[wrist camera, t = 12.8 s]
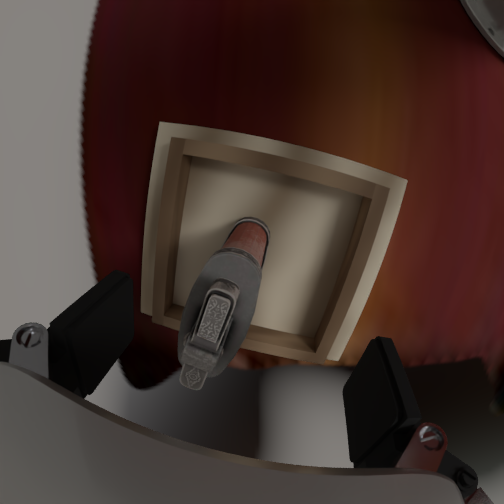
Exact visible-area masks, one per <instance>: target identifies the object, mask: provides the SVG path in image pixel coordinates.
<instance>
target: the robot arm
mask: <svg viewBox="0 0 504 504" xmlns="http://www.w3.org/2000/svg"><path fill="white" fill-rule="evenodd" d="M460 1H461V3H462V5H463V7H464V8H465V10H466V12H467V14H468V15H469V17H470V18H471V20H472V21H473V23H474V24H475V26H476V27H477V28H478V30H479V31H480V32H481V34H482V35H483V36H484V37H485V39H486V40H487V41H488V42H489V43H490V45H491V46H492V47H493V48H494V49H495V50H496V51H497V52H498V53H499V54H500V55H501V56H502V57H503V58H504V0H460ZM133 336H134V313H133V280H132V279H131V278H130V276H129V274H128V273H124V272H121V271H118V270H114V271H113V272H111V273H110V274H109V275H108V276H106V277H105V278H104V279H102V280H101V281H100V282H99V283H97V284H96V285H95V286H94V287H92V288H91V289H90V290H89V291H88V292H86V293H85V294H84V295H83V296H81V297H80V298H79V299H78V300H76V301H75V302H74V303H73V304H72V305H70V306H69V307H68V308H67V309H66V310H65V311H63V312H62V313H61V314H60V315H59V316H57V318H55V319H54V320H53V321H52V322H51V323H50V327H49V328H48V329H46V328H45V327H44V326H43V325H41V324H38V323H26V324H24V325H21V326H20V327H18V328H17V329H16V330H15V332H14V334H13V336H12V339H8V340H0V504H494V503H493V502H492V501H491V500H490V498H489V497H488V496H487V495H486V493H485V492H484V491H483V490H482V488H481V487H479V488H478V489H477V485H478V477H477V474H476V473H475V471H474V470H473V469H472V468H471V467H470V466H468V465H467V464H465V463H464V462H462V461H461V460H459V459H458V458H457V457H455V456H454V455H452V454H451V453H450V452H448V451H447V450H446V447H447V437H446V435H445V433H444V431H443V430H442V429H441V428H440V427H439V426H437V425H435V424H433V423H423V424H421V423H420V419H421V418H422V417H421V414H420V411H419V408H418V405H417V402H416V399H415V397H414V394H413V391H412V388H411V386H410V383H409V380H408V378H407V375H406V373H405V370H404V368H403V365H402V363H401V360H400V358H399V355H398V353H397V350H396V348H395V346H394V343H393V341H392V339H390V338H386V337H380V336H378V337H376V338H375V339H372V340H371V341H370V342H369V344H368V346H367V348H366V350H365V352H364V353H363V355H362V357H361V359H360V360H359V362H358V364H357V366H356V367H355V369H354V371H353V372H352V374H351V376H350V377H349V379H348V380H347V382H346V384H345V386H344V388H343V400H344V407H345V416H346V425H347V434H348V445H349V456H350V461H351V462H353V463H354V468H328V467H313V466H301V465H293V464H284V463H276V462H270V461H264V460H258V459H253V458H248V457H243V456H238V455H233V454H229V453H224V452H221V451H217V450H213V449H209V448H205V447H202V446H198V445H195V444H191V443H188V442H185V441H182V440H179V439H175V438H173V437H170V436H167V435H164V434H161V433H159V432H156V431H153V430H151V429H148V428H146V427H143V426H141V425H138V424H136V423H133V422H131V421H129V420H126V419H124V418H122V417H120V416H117V415H115V414H113V413H111V412H109V411H107V410H105V409H103V408H100V407H99V406H97V405H95V404H92V403H91V402H89V401H87V400H85V399H84V398H85V397H86V396H87V394H88V395H90V394H92V393H93V392H94V390H95V389H96V387H97V386H98V385H99V383H100V382H101V381H102V379H103V378H104V376H105V375H106V374H107V373H108V371H109V370H110V368H111V367H112V366H113V364H114V363H115V362H116V360H117V359H118V358H119V356H120V355H121V354H122V352H123V351H124V350H125V349H126V347H127V346H128V345H129V343H130V342H131V341H132V339H133Z"/></svg>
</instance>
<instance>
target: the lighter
mask: <svg viewBox="0 0 504 504" xmlns="http://www.w3.org/2000/svg"><path fill="white" fill-rule="evenodd" d="M269 241H270V230H269V228H268V226H267V225H266V224H265V222H264V221H262V220H260V219H259V218H256V217H244V218H241V219H239V220H238V221H237V222H236V223H235V225H234V226H233V228H232V229H231V231H230V233H229V234H228V236H227V238H226V239H225V241H224V243H223V244H222V246H221V249H220V250H217V251H216V252H215V253H214V254H213V255H212V256H211V257H210V258H209V260H208V261H207V262H206V264H205V266H204V268H203V269H202V271H201V273H200V275H199V276H198V278H197V280H196V282H195V283H194V285H193V287H192V289H191V292H190V294H189V297H188V299H187V302H186V305H185V307H184V310H183V313H182V318H181V323H180V329H179V334H178V358H179V362H180V363H181V364H182V366H183V368H182V371H181V375H180V383H181V384H182V385H184V386H186V387H188V388H191V389H194V390H199V389H201V388H202V386H203V383H204V381H205V379H206V377H214V376H217V375H219V374H220V373H221V372H222V371H223V370H224V369H225V367H226V366H227V365H228V364H229V363H230V361H231V360H232V359H233V358H234V356H235V355H236V353H237V351H238V349H239V348H240V346H241V344H242V343H243V341H244V339H245V338H246V335H247V332H248V329H249V327H250V324H251V321H252V318H253V316H254V313H255V309H256V304H257V299H258V294H259V289H260V284H261V279H262V270H263V267H264V264H265V261H266V256H267V251H268V246H269Z"/></svg>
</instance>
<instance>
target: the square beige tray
mask: <svg viewBox="0 0 504 504" xmlns="http://www.w3.org/2000/svg"><path fill="white" fill-rule="evenodd" d="M407 181H408V180H406V179H403V178H400V177H398V176H395V175H392V174H390V173H387V172H384V171H381V170H379V169H376V168H373V167H370V166H367V165H364V164H361V163H358V162H355V161H351V160H348V159H345V158H342V157H338V156H335V155H331V154H328V153H324V152H321V151H317V150H313V149H310V148H306V147H302V146H298V145H294V144H290V143H286V142H281V141H277V140H272V139H268V138H263V137H258V136H253V135H248V134H243V133H237V132H232V131H226V130H220V129H213V128H206V127H199V126H192V125H184V124H175V123H165V122H160V124H159V129H158V134H157V140H156V145H155V151H154V157H153V163H152V170H151V177H150V184H149V192H148V200H147V209H146V219H145V230H144V243H143V258H142V280H141V312H142V313H145V314H148V315H151V316H152V322H153V323H157V324H160V325H163V326H166V327H169V328H172V329H175V330H179V329H180V323H181V318H182V313H183V310H184V307H185V305H186V302H187V299H188V297H189V294H190V292H191V289H192V287H193V285H194V283H195V282H196V280H197V278H198V276H199V275H200V273H201V271H202V269H203V268H204V266H205V264H206V262H207V261H208V260H209V258H210V257H211V256H212V255H213V254H214V253H215V252H216V251H217V250H220V249H221V246H222V244H223V243H224V241H225V239H226V238H227V236H228V234H229V233H230V231H231V229H232V228H233V226H234V225H235V223H236V222H237V221H238V220H239V219H241V218H244V217H256V218H259V219H260V220H262V221H264V222H265V224H266V225H267V226H268V228H269V230H270V241H269V246H268V251H267V256H266V261H265V264H264V267H263V270H262V279H261V284H260V289H259V294H258V299H257V304H256V309H255V313H254V316H253V318H252V321H251V324H250V327H249V329H248V332H247V335H246V338H245V339H244V341H243V343H242V344H241V346H240V348H245V349H249V350H253V351H257V352H262V353H266V354H271V355H276V356H281V357H285V358H291V359H296V360H301V361H307V362H312V363H318V364H324V362H325V360H326V359H329V360H335V361H338V360H339V358H340V356H341V355H342V353H343V351H344V349H345V347H346V345H347V343H348V340H349V338H350V336H351V334H352V332H353V330H354V328H355V326H356V324H357V321H358V319H359V317H360V315H361V312H362V310H363V308H364V306H365V303H366V301H367V299H368V296H369V294H370V291H371V289H372V287H373V284H374V282H375V279H376V276H377V274H378V271H379V269H380V266H381V263H382V261H383V258H384V255H385V252H386V250H387V247H388V244H389V241H390V238H391V235H392V232H393V229H394V226H395V223H396V219H397V216H398V213H399V209H400V206H401V203H402V199H403V196H404V192H405V188H406V184H407Z"/></svg>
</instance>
